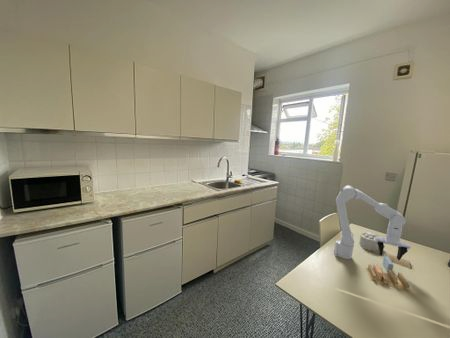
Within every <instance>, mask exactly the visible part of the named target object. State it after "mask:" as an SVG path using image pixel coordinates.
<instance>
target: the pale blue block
mask: <svg viewBox="0 0 450 338" xmlns="http://www.w3.org/2000/svg"><path fill="white" fill-rule="evenodd" d="M381 265H382V266H383V268H384V269H385V271H386V273H387V272H388V270H391V271H392V272H393V270H394V263H392V262H391V260H390V259H389V257H388V255H387V256H386V255H383V259H382V264H381Z"/></svg>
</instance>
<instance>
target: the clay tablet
mask: <svg viewBox="0 0 450 338" xmlns="http://www.w3.org/2000/svg"><path fill="white" fill-rule="evenodd" d="M387 257H389V259H390V260H391V262H392V263H393V264H395V265H398V266H401V267H405V268H407V269H409V270H411V264H410V262H411V261H410V260H407V259H405V258H402V257H401V259H400V260H398V259H397V255H393V254H391V253H387Z"/></svg>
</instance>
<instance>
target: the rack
mask: <svg viewBox="0 0 450 338" xmlns="http://www.w3.org/2000/svg"><path fill="white" fill-rule="evenodd" d="M379 267H380V266H379ZM380 269H381V271H382V273H383V274H382V279H381V281H379V280H376V277H377V276H376V274H375V272H374V270H373V265H372V264H368V267H365V271H366V272H367V275H368V279H370V281H372V282H375V283H378V284H382V285H385V286H389V287H391V288H395V289H399V290H401V291H406V292H408V293H411V294H413V291H412V289H410V287H411V286H410V284H409V282H408V281H407V279H406V277H405V276H404V275H403V273H402V272H397V275H394V273H393V270H392V271H391V270H388V272H387V271H386V272H384V271H383V268H382V267H380Z"/></svg>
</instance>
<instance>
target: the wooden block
mask: <svg viewBox="0 0 450 338" xmlns="http://www.w3.org/2000/svg"><path fill="white" fill-rule="evenodd" d="M372 267H373V270H374V272H375V274H376V276H377V277H376V280H379V281H381V279H382V274H383V273H382V271H381V269H382V268H381V269H380V266H379V264H376V263H373V265H372Z"/></svg>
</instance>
